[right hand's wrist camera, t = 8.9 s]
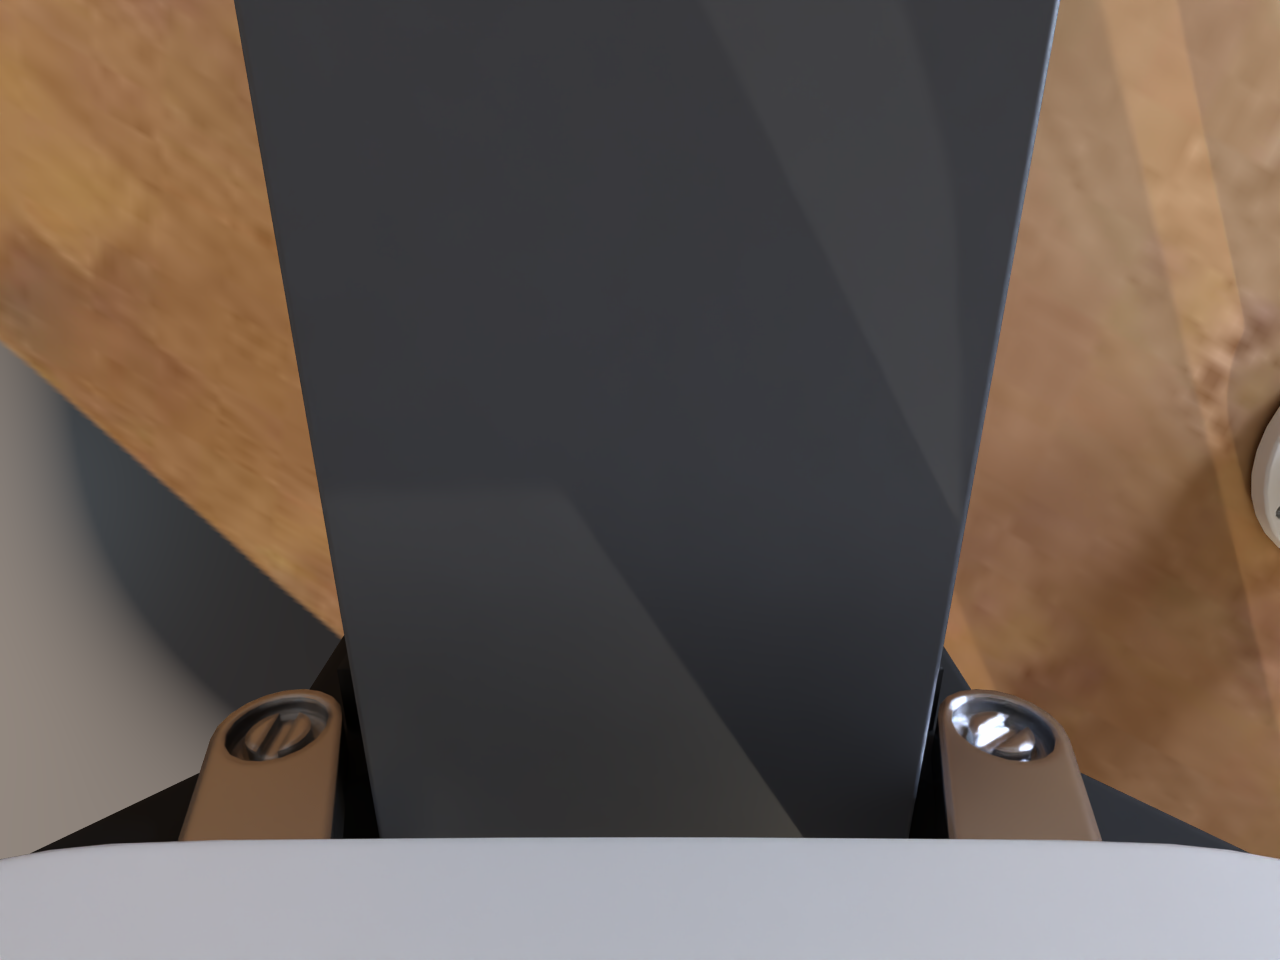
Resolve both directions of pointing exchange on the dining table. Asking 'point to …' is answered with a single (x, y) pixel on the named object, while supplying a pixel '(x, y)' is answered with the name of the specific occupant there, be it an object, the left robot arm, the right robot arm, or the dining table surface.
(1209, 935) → the right robot arm
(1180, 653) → the dining table surface
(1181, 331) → the dining table surface
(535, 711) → the beam
